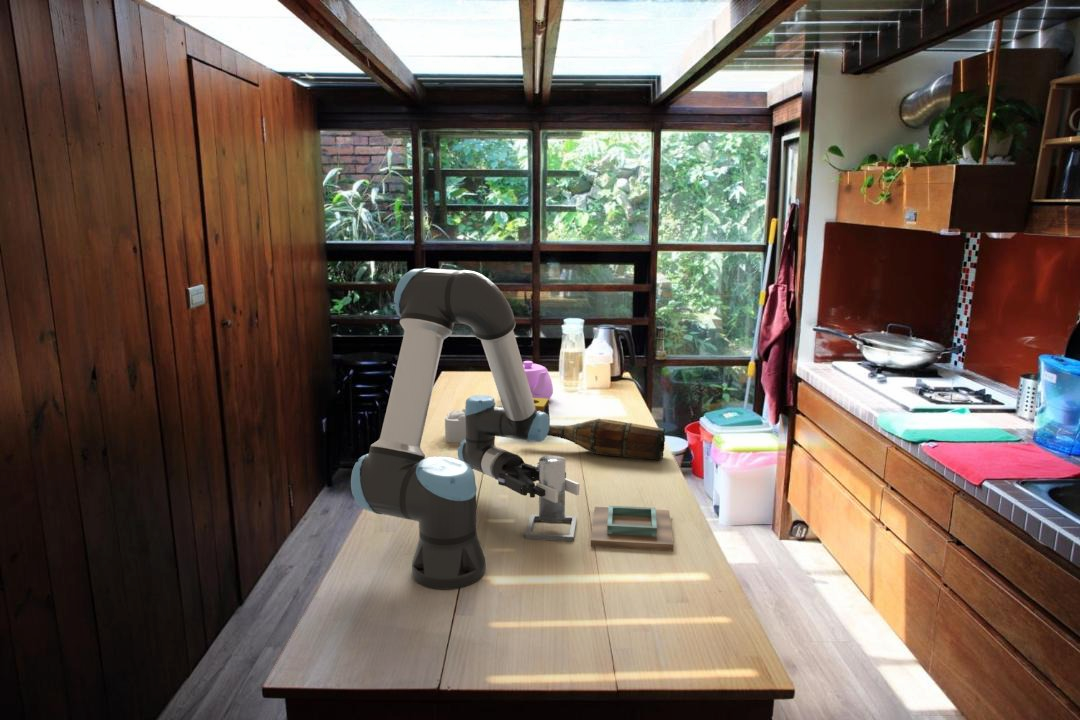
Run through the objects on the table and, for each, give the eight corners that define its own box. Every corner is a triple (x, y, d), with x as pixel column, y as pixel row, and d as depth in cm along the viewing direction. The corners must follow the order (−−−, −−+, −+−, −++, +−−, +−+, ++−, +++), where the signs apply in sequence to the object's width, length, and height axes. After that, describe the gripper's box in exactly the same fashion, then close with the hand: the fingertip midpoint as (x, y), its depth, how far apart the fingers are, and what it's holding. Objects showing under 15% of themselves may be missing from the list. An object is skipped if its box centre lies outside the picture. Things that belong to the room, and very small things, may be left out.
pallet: (673, 550, 161) (673, 536, 160) (590, 546, 163) (590, 531, 162) (668, 516, 178) (669, 502, 177) (594, 512, 180) (594, 499, 180)
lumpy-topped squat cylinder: (448, 432, 242) (448, 407, 240) (488, 432, 241) (487, 407, 240) (444, 442, 231) (443, 416, 230) (485, 443, 231) (485, 416, 229)
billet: (563, 523, 167) (564, 465, 165) (537, 521, 168) (537, 463, 165) (565, 512, 173) (566, 456, 170) (540, 511, 174) (540, 455, 171)
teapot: (489, 399, 281) (488, 360, 278) (538, 392, 291) (538, 355, 288) (515, 414, 262) (515, 373, 258) (566, 406, 271) (567, 366, 268)
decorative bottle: (668, 442, 222) (528, 426, 236) (667, 418, 215) (523, 402, 229) (662, 470, 214) (518, 451, 229) (660, 446, 207) (512, 428, 222)
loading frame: (573, 541, 165) (573, 537, 165) (524, 538, 167) (524, 534, 166) (576, 520, 176) (576, 516, 176) (531, 517, 177) (531, 514, 177)
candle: (544, 436, 238) (544, 406, 236) (514, 434, 240) (513, 404, 238) (550, 426, 247) (550, 398, 245) (521, 425, 249) (520, 396, 247)
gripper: (532, 471, 189) (596, 498, 172) (472, 489, 177) (535, 520, 160) (532, 443, 188) (597, 467, 171) (472, 459, 176) (535, 487, 158)
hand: (567, 493), depth 165 cm, fingers closed on billet, 6 cm apart
